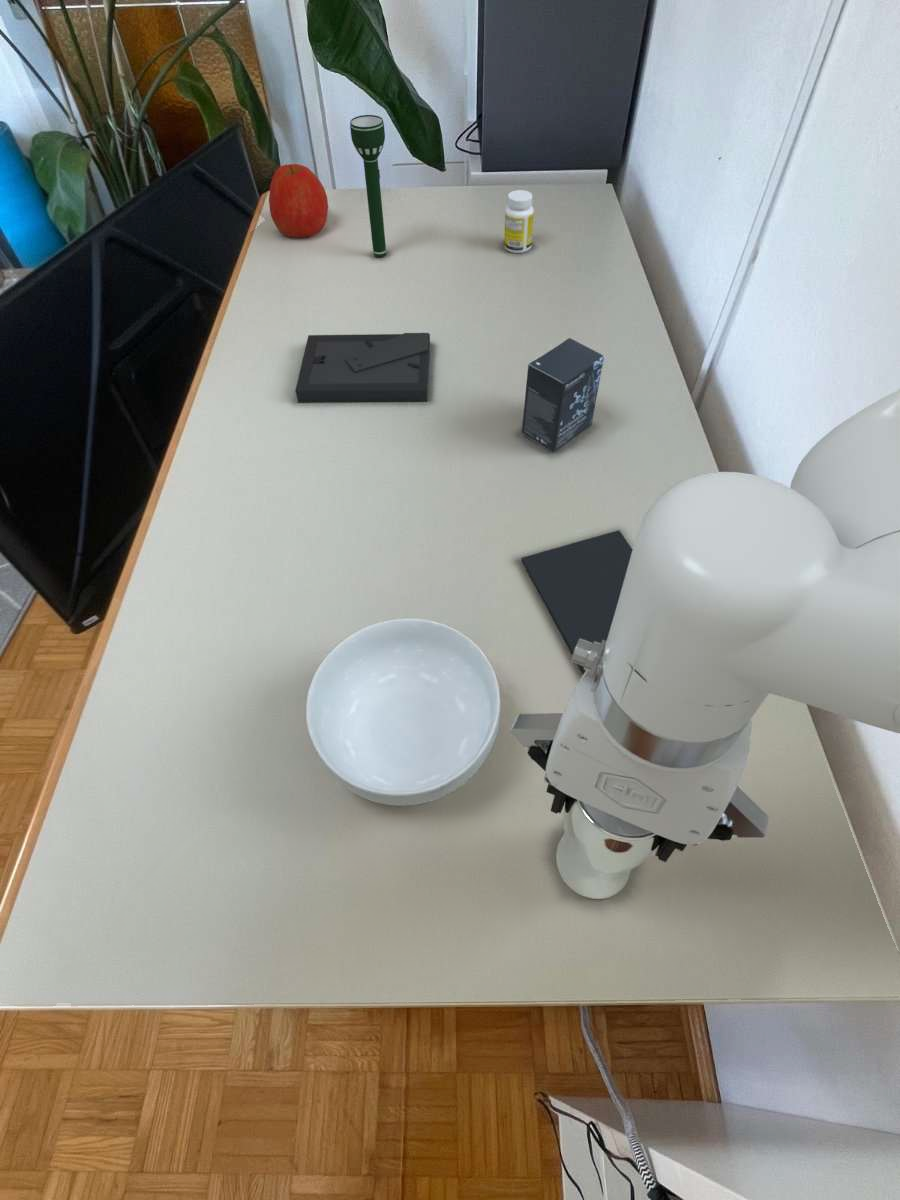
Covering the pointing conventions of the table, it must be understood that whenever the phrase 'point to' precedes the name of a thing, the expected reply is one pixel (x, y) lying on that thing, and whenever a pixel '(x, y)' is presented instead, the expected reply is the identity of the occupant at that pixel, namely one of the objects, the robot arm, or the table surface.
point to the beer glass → (600, 850)
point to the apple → (297, 201)
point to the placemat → (581, 585)
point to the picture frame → (365, 368)
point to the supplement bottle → (518, 222)
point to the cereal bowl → (403, 711)
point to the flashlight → (371, 172)
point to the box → (561, 394)
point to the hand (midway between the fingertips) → (613, 816)
